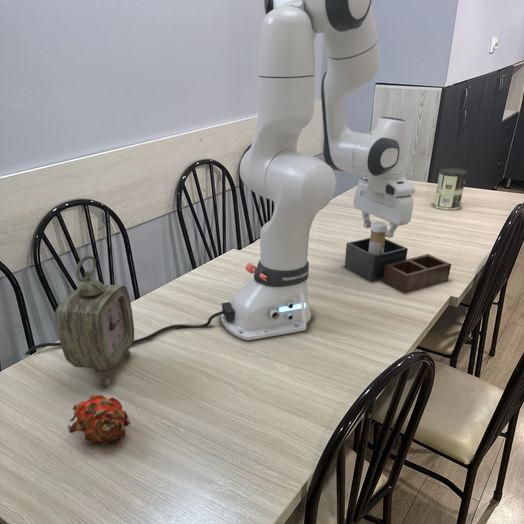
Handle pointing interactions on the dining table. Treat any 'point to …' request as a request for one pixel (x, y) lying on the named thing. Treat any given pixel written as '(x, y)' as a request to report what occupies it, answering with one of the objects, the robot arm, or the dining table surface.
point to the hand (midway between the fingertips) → (377, 232)
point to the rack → (416, 273)
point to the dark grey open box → (372, 258)
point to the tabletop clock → (95, 324)
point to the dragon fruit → (100, 419)
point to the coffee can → (450, 188)
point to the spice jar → (377, 238)
